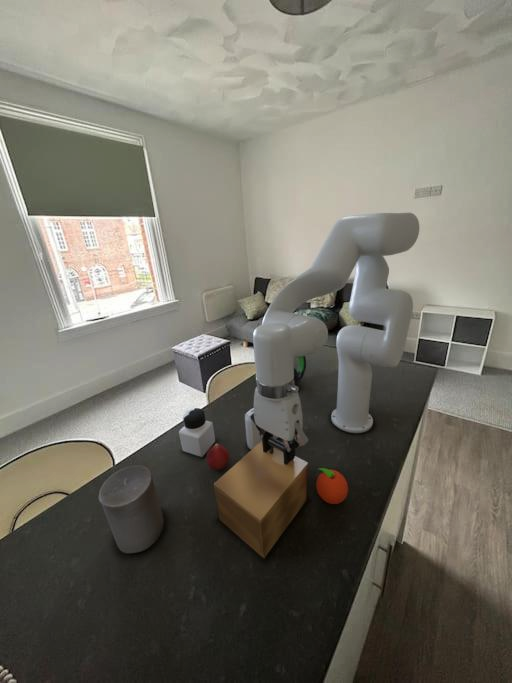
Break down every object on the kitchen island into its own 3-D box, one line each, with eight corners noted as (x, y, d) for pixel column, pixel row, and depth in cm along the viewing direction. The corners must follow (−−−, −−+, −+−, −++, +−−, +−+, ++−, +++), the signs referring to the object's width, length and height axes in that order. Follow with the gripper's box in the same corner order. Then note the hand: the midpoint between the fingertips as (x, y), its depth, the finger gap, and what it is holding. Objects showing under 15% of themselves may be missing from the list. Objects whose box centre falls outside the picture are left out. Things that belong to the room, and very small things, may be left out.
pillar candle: (149, 502, 66) (134, 453, 61) (173, 526, 60) (159, 474, 55) (107, 535, 59) (87, 483, 54) (130, 566, 53) (110, 511, 48)
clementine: (306, 493, 66) (306, 470, 63) (325, 477, 69) (326, 455, 67) (334, 517, 60) (335, 493, 57) (353, 499, 63) (355, 475, 61)
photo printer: (272, 430, 87) (270, 396, 82) (281, 437, 84) (279, 402, 79) (244, 444, 82) (241, 409, 77) (252, 452, 79) (249, 416, 74)
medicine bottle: (215, 441, 84) (210, 408, 80) (202, 458, 78) (196, 423, 74) (196, 435, 87) (190, 403, 82) (182, 451, 81) (174, 417, 77)
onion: (212, 480, 71) (208, 456, 68) (205, 465, 75) (201, 442, 73) (233, 471, 73) (230, 447, 70) (225, 456, 78) (222, 433, 75)
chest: (264, 473, 72) (261, 443, 68) (306, 500, 64) (306, 468, 60) (219, 519, 61) (214, 487, 57) (264, 558, 53) (261, 523, 49)
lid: (263, 441, 69) (262, 424, 67) (308, 465, 61) (308, 447, 59) (214, 486, 57) (210, 468, 55) (261, 523, 49) (259, 503, 48)
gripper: (322, 389, 53) (320, 461, 60) (255, 366, 64) (260, 430, 70) (301, 408, 48) (302, 485, 55) (232, 380, 58) (239, 448, 65)
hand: (278, 453), depth 62 cm, fingers closed on lid, 5 cm apart
